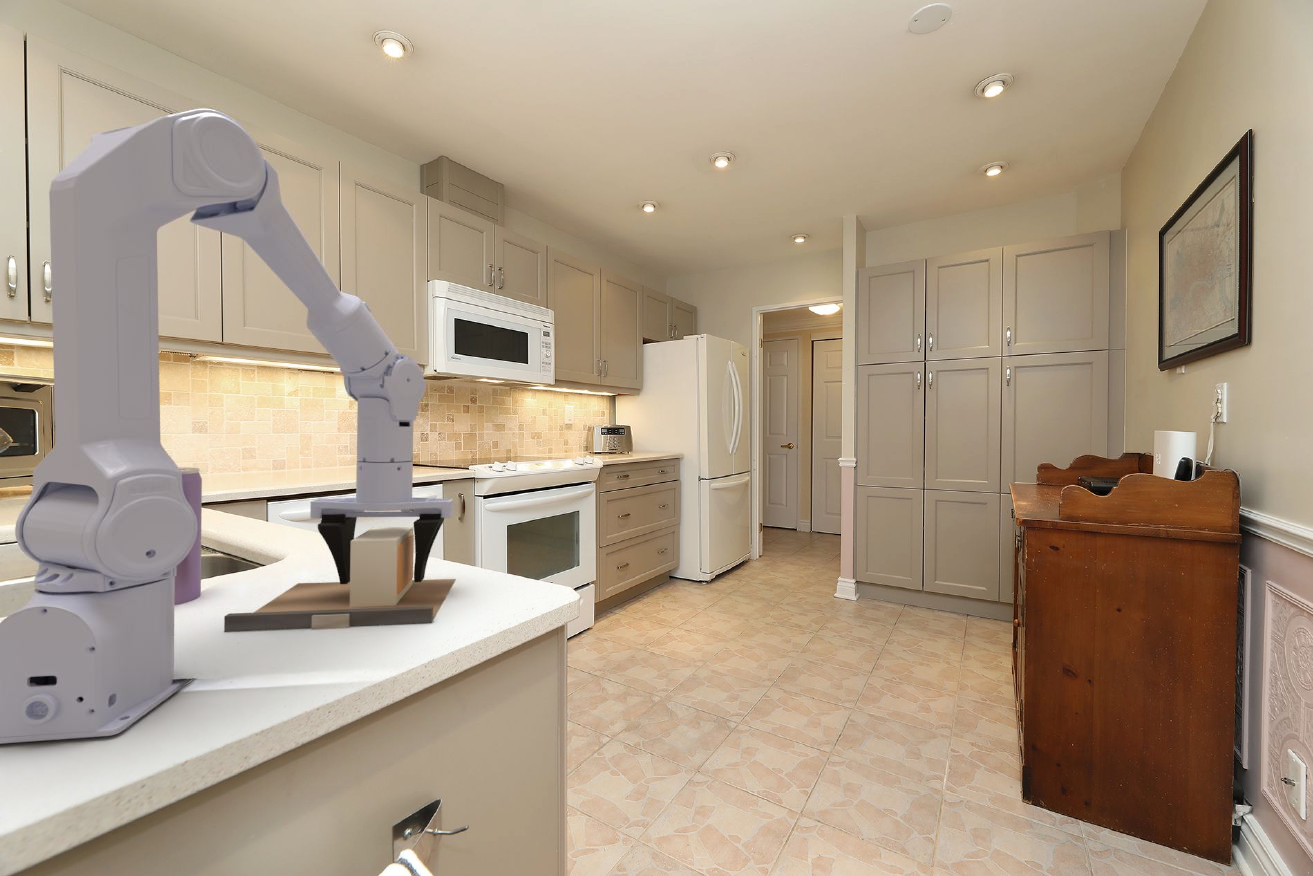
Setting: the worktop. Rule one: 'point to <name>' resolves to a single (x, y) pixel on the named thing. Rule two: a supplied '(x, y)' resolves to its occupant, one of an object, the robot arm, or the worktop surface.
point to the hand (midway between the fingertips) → (383, 581)
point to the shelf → (340, 608)
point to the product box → (381, 566)
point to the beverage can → (191, 564)
